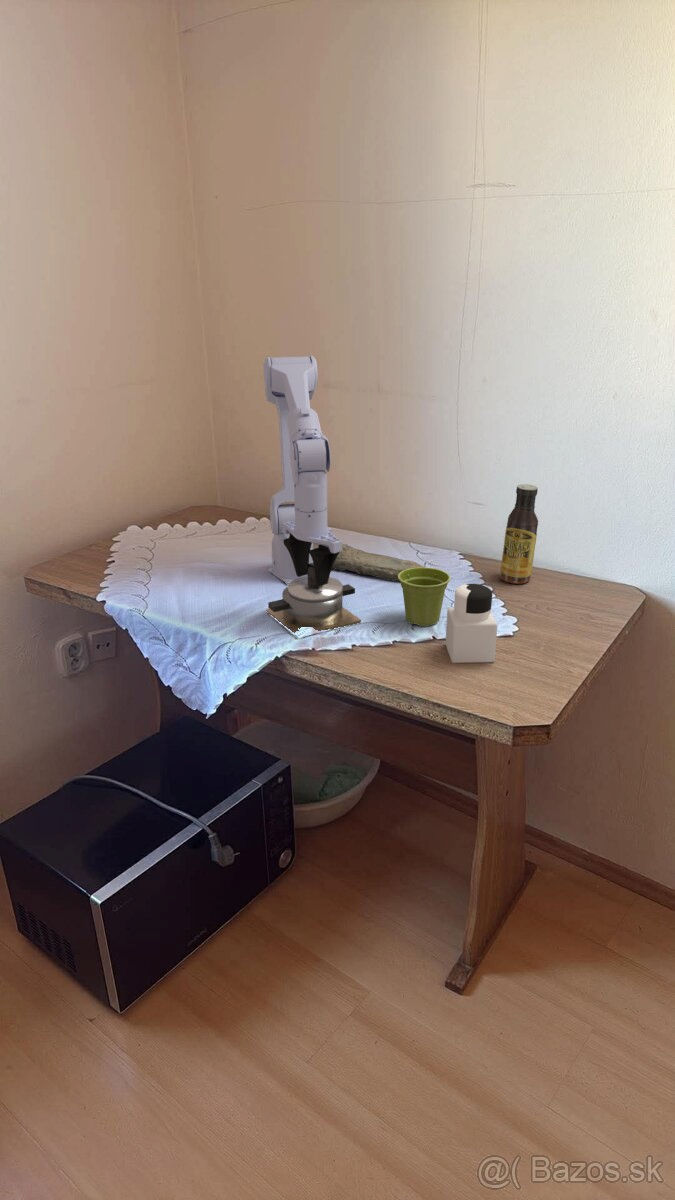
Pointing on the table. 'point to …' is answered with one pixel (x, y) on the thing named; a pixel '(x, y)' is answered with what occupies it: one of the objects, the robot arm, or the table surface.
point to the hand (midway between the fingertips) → (312, 579)
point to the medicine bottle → (471, 625)
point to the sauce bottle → (520, 537)
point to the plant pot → (423, 594)
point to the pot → (312, 612)
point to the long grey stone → (370, 563)
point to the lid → (314, 588)
